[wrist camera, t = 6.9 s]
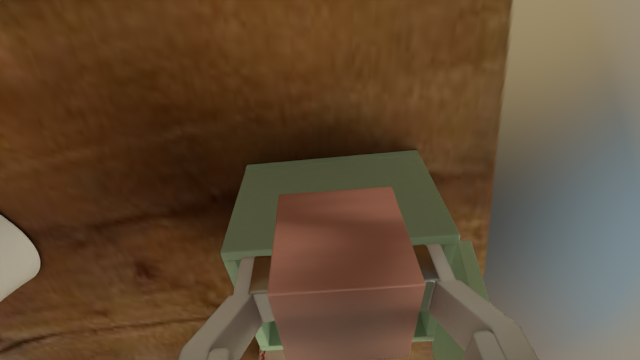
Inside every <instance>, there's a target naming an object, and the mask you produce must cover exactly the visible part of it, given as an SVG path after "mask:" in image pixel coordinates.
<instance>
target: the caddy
mask: <svg viewBox="0 0 640 360" xmlns="http://www.w3.org/2000/svg"><path fill="white" fill-rule="evenodd" d="M378 187H392V188H393V191H394V194H395V197H396V200H397V203H398V206H399V209H400V212H401V214H402V217H403V220H404V223H405V226H406V229H407V232H408V235H409V238H410V240H411V243H412V245H420V244H424V245H425V244H437V243H439V244H440V245H441V247H442V250H443V252H444V254H445V256H446V258H447V261H448V263H449V265H450V267H451V264H452V260H453V255H454V251H455V247H456V243H457V241H459V238H460V233H459V231H458V229H457V227H456V225H455V223H454V221H453V219H452V217H451V216H450V214H449V212H448V210H447V208H446V206H445V204H444V202H443V200H442V198H441V196H440V194H439V192H438V190H437V188H436V186H435V184H434V182H433V180H432V178H431V176H430V174H429V172H428V170H427V168H426V166H425V164H424V162H423V161H422V159H421V157H420V154H419V152H418V150H410V151H399V152H387V153H376V154H365V155H353V156H342V157H331V158H320V159H308V160H297V161H286V162H274V163H263V164H252V165H247V167H246V171H245V174H244V177H243V180H242V184H241V187H240V190H239V193H238V196H237V200H236V203H235V206H234V209H233V212H232V216H231V219H230V222H229V225H228V229H227V232H226V235H225V238H224V241H223V245H222V248H221V251H220V255H221V257H222V259H223V262H224V265H225V267H226V269H227V272H228V274H229V276H230V279H231V281H232V283H233V286H234V288H235V284H236V279H237V275H238V270H239V265H240V261H241V259H242V257H251V256H271V255H272V249H273V240H274V231H275V223H276V214H277V205H278V197H279V195H280V194H293V193H307V192H321V191H335V190H349V189H363V188H378ZM437 323H438V322H437V321H436V320H435V319H434V318H433V316H432V315H431V314H430V313H429V311H420V312H419V316H418V320H417V325H416V329H415V333H414V338H413V342H419V341H433V340H434V335H435V331H436V327H437ZM255 337H256V339H257V341H258V344H259V346H260V349H261V351H271V350H283V347H282V344H281V341H280V337H279V334H278V330H277V327H276V323H275V321H271V322H262V325H261V327H260V328H259V330H258V332H257V333H256V335H255Z"/></svg>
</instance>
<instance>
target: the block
mask: <svg viewBox="0 0 640 360" xmlns="http://www.w3.org/2000/svg"><path fill="white" fill-rule="evenodd" d="M425 285H426V284H425V281H424V278H423V275H422V272H421V269H420V267H419V264H418V261H417V258H416V255H415V252H414V249H413V246H412V243H411V240H410V238H409V235H408V232H407V229H406V226H405V223H404V220H403V217H402V214H401V212H400V209H399V206H398V203H397V200H396V197H395V194H394V191H393V188H392V187H378V188H363V189H349V190H335V191H321V192H307V193H293V194H280V195H279V197H278V205H277V214H276V223H275V231H274V240H273V249H272V257H271V266H270V275H269V283H268V292H267V296H268V299H269V303H270V306H271V310H272V313H273V317H274V320H275V323H276V327H277V330H278V334H279V337H280V341H281V344H282V347H283V351H284V354H285V358H286V360H373V359H389V358H405V357H409V355H410V351H411V346H412V342H413V338H414V333H415V329H416V325H417V320H418V316H419V312H420V307H421V303H422V299H423V294H424V290H425Z"/></svg>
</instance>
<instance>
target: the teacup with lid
mask: <svg viewBox="0 0 640 360" xmlns="http://www.w3.org/2000/svg"><path fill="white" fill-rule="evenodd" d="M258 360H286V358H285V354H284V351H283V350H271V351H261V349H260V350H259V357H258Z"/></svg>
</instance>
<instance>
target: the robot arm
mask: <svg viewBox="0 0 640 360" xmlns="http://www.w3.org/2000/svg"><path fill="white" fill-rule="evenodd" d="M412 246H413V249H414V252H415V255H416V258H417V261H418V264H419V267H420V269H421V272H422V275H423V278H424V281H425V284H426V285H425V290H424V294H423V299H422V303H421V307H420V311H429V313H430V314H431V315H432V316H433V318H434V319H435V320H436V321H437V322H438V323H439V324H440V325H441V326H442V327H443V328H444V329H445V331H446V332H447V333H448V334H449V335H450V336H451V337H452V338H453V339H454V340H455V341H456V342H457V344H458V345H459V346H460V347H461V348H462V349H463V350H464V351H465V353H464V355H463V357H462V359H461V360H539V359H538V357H537V355H536V353H535V351H534V350H533V348H532V346H531V344H530V343H529V341H528V339H527V337H526V335H525V334H524V332H523V330H522V328H521V327H520V326H519V325H518V324H516V323H515V322H514V321H512V320H511V319H510V318H509V317H507V316H506V315H505V314H503V313H502V312H501V311H500V310H498V309H497V308H496V307H494V306H493V305H492V304H491V303H489V302H488V301H487V300H485V299H484V298H483V297H482V296H480V295H479V294H478V293H476V292H475V291H474V290H473V289H471V288H470V287H469V286H467V285H466V284H465V283H464V282H462V281H461V280H456V278H455V276H454V274H453V272H452V270H451V267H450V265H449V263H448V261H447V258H446V256H445V254H444V252H443V250H442V247H441V245H440V244H439V243H437V244H425V245H424V244H420V245H412ZM271 257H272V255H271V256H251V257H242V259H241V261H240V265H239V270H238V275H237V279H236V284H235V289H234V294H233V296H229V297H228V298H227V299H226V300H225V301H224V302H223V303H222V305H221V306H220V307H219V308H218V309H217V310H216V311H215V312H214V313H213V315H212V316H211V317H210V318H209V319H208V320H207V321H206V322H205V324H204V325H203V326H202V327H201V328H200V329H199V330H198V331H197V333H196V334H195V335H194V336H193V337H192V338H191V339H190V340H189V341H188V343H187V344H186V345H185V346H184V347H183V348H182V350H181V353H180V356H179V359H178V360H240V358H241V357H242V355H243V353H244V352H245V350H246V349H247V347H248V346H249V344H250V342H251V341H252V339H253V338H254V336H255V335H256V333H257V332H258V330H259V328H260V327H261V325H262V322H271V321H275V320H274V317H273V313H272V310H271V306H270V303H269V299H268V296H267V292H268V283H269V275H270V266H271ZM39 269H40V257H39V254H38V252H37V250H36V248H35V246H34V245H33V243H32V242H31V241H30V240H29V238H28V237H27V236H26V235H25V234H24V233H23V232H22V231H21V230H19V229H18V228H17V227H16V226H15V225H14V224H12V223H11V222H10V221H8V220H7V219H6V218H4V217H3V216H2V215H0V301H2V300H3V299H4V298H5V297H7V296H8V295H9V294H11V293H12V292H13V291H15V290H16V289H17V288H19V287H20V286H21V285H23V284H24V283H26V282H28V281H29V280H31V279H32V278H33V277H35V276H36V274H37V273H38V271H39Z"/></svg>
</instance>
